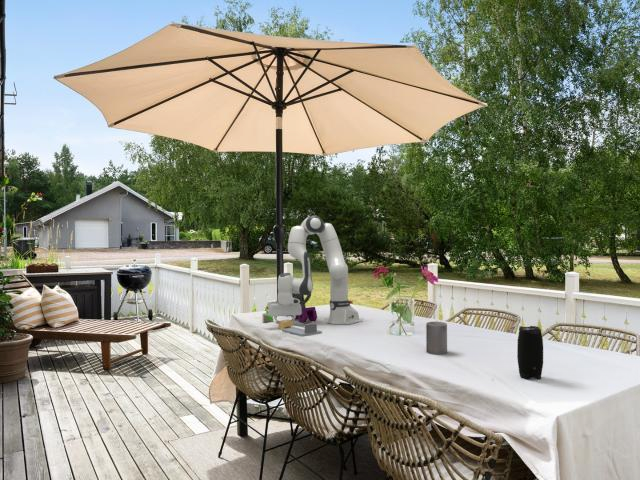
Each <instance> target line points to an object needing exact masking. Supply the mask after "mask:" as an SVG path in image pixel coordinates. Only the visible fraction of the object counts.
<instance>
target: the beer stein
mask: <svg viewBox="0 0 640 480" xmlns="http://www.w3.org/2000/svg"><path fill="white" fill-rule="evenodd" d="M292 297H293V298H296V299H299V300H300V303H299V304H300V305H301V309H302V308H307V307H306V304H307V303H308V301H309V300H310V299H311V297H312V292H311V293H310V294H308V295H306V297H305V295H302V294H294V293H292ZM290 318H293V317H292V316H291V317H290Z"/></svg>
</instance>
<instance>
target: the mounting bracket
mask: <svg viewBox="0 0 640 480" xmlns="http://www.w3.org/2000/svg"><path fill="white" fill-rule="evenodd" d="M291 318H293V316H292V317H291ZM317 319H318V313H317V309H316V306H311V307H310V306H308V307H306V308H302V314H301V315H296V318H295V320H298V322H299V323H301V322H302V323H301V324H304V323H305V322H306V323H307V322H311V323H314V322H316V321H317ZM313 321H314V322H313ZM306 323H305V324H306Z"/></svg>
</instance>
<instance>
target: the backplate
mask: <svg viewBox="0 0 640 480" xmlns="http://www.w3.org/2000/svg"><path fill="white" fill-rule="evenodd" d="M281 332H284V333H288V334H290V335H295V336H297V337H298V336H299V337H307V336H313V335H319V334H322V333H323V331H322V330H318V326H317V323H316V322H311V323H305V324H304V325H303V326H302V325H301V326H297V325H293V326H291V328H287V327H285V329H282V330H281Z"/></svg>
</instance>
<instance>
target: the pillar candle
mask: <svg viewBox="0 0 640 480" xmlns="http://www.w3.org/2000/svg"><path fill="white" fill-rule="evenodd" d="M425 325H426V327H425V328H426V330H425V333H426V337H425V340H426V341H425V344H426V347H425V348H426V350H425V351H426V352H425V353H427V354H431V355H438V356H439V355H445V354H447V353H448V323H446V322H444V321H437V320H436V321H429V322H426V324H425Z"/></svg>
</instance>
